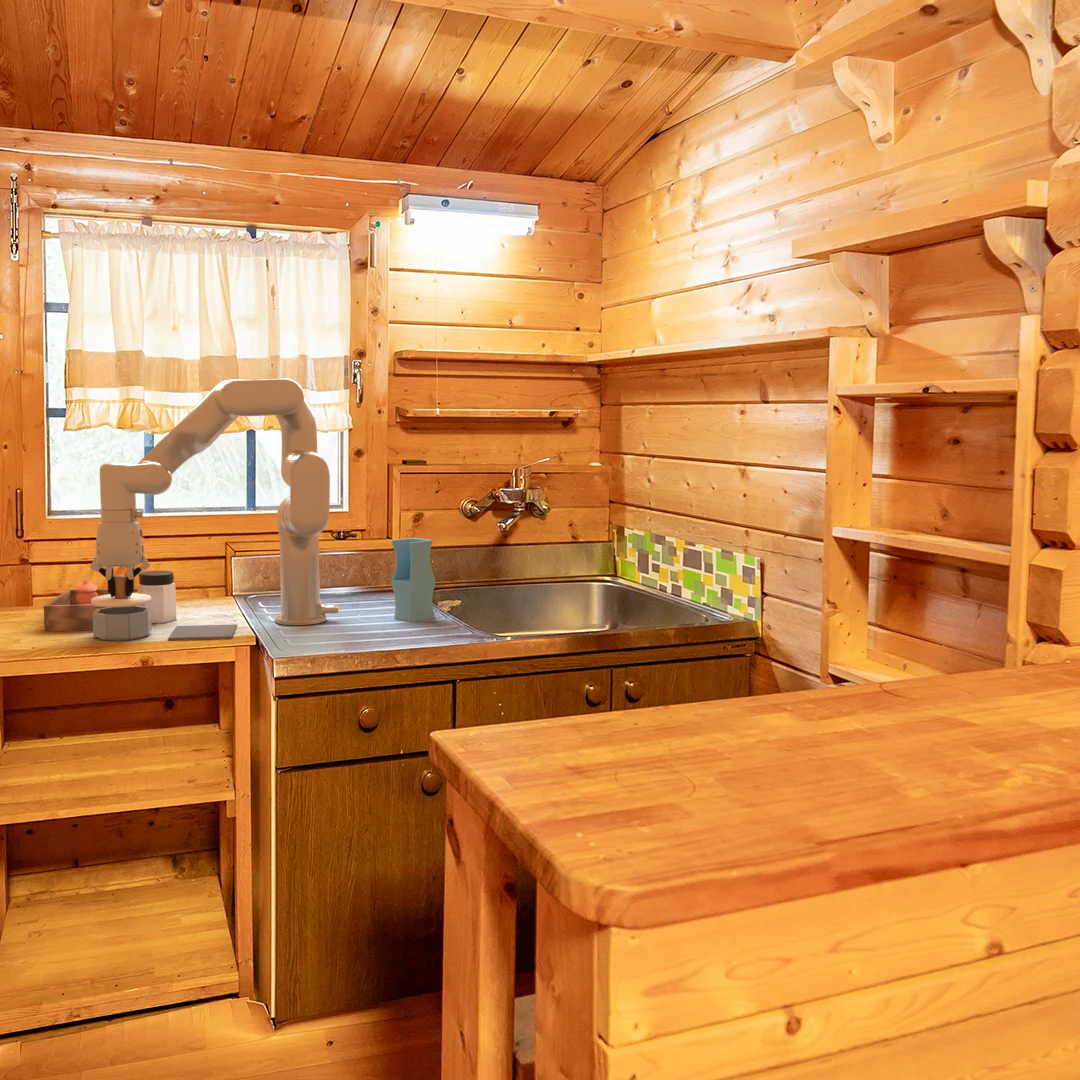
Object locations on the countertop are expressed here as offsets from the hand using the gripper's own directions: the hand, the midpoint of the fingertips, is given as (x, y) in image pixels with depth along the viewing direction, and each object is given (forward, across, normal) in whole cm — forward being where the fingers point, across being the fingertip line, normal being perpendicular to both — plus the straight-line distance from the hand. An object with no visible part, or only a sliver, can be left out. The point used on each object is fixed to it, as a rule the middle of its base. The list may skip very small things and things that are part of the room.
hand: (121, 595), depth 253 cm
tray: (+9, +12, -20) cm, 25 cm away
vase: (+9, -68, -12) cm, 70 cm away
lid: (+2, 0, 0) cm, 2 cm away
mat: (+9, -18, 0) cm, 20 cm away
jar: (+10, -5, -18) cm, 21 cm away
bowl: (+9, 0, 0) cm, 9 cm away
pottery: (+10, +12, -18) cm, 24 cm away
